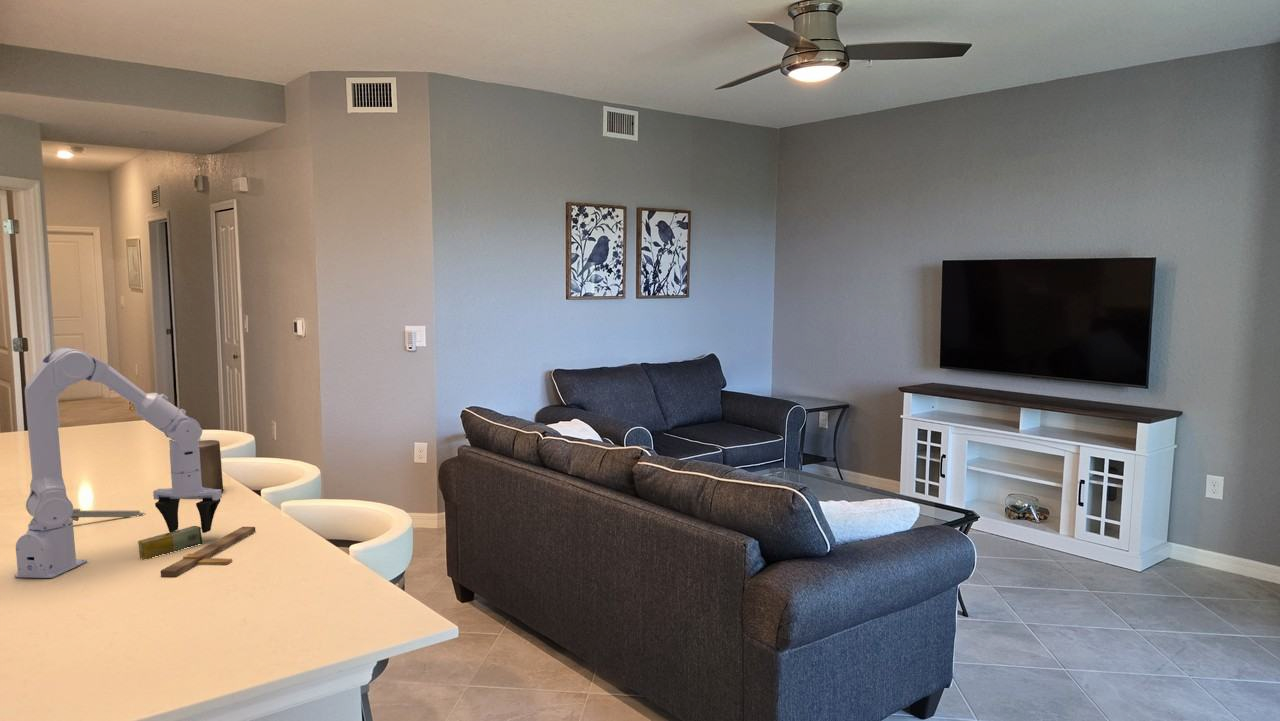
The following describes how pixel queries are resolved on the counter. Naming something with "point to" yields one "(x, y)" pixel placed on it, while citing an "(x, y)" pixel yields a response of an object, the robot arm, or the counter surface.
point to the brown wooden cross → (207, 553)
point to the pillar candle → (211, 464)
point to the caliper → (104, 513)
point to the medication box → (170, 542)
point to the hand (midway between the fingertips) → (190, 531)
